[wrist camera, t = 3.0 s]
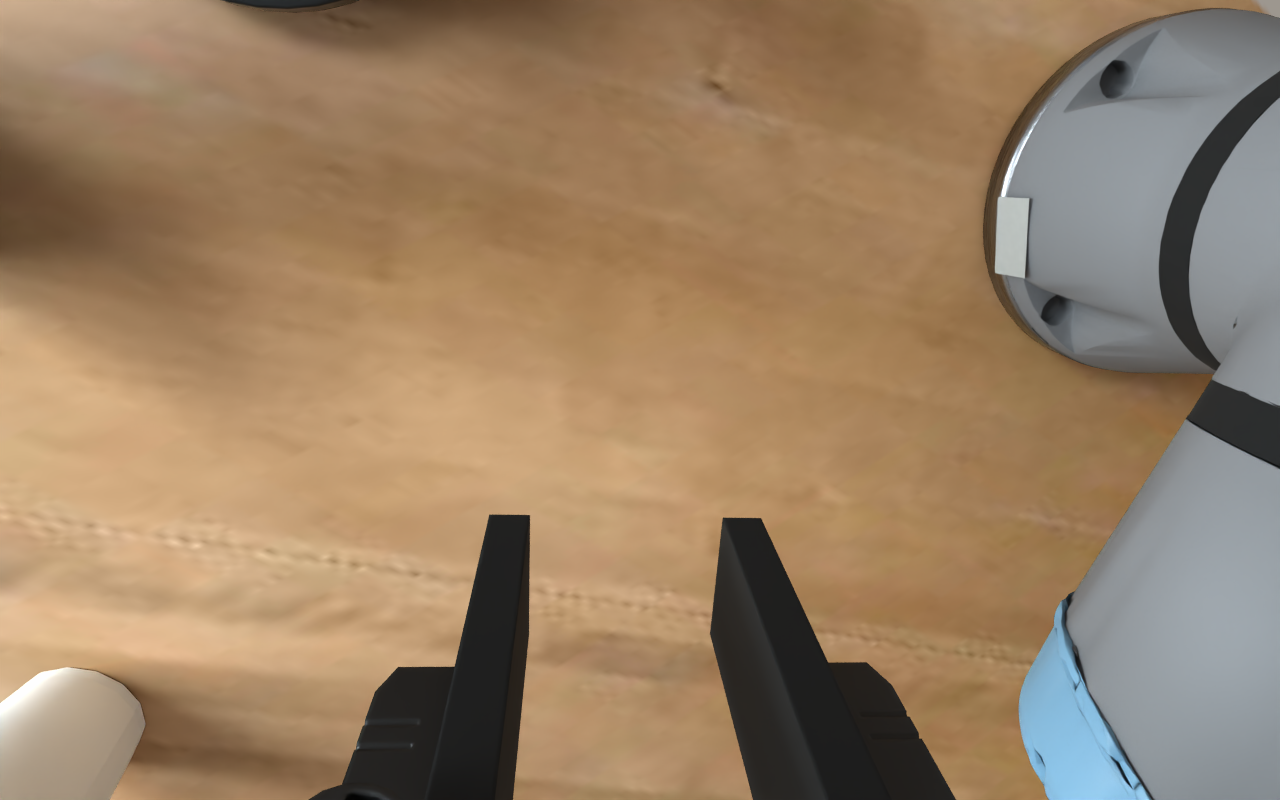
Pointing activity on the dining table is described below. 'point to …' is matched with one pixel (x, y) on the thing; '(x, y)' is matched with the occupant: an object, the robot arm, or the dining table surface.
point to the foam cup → (67, 736)
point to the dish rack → (291, 4)
